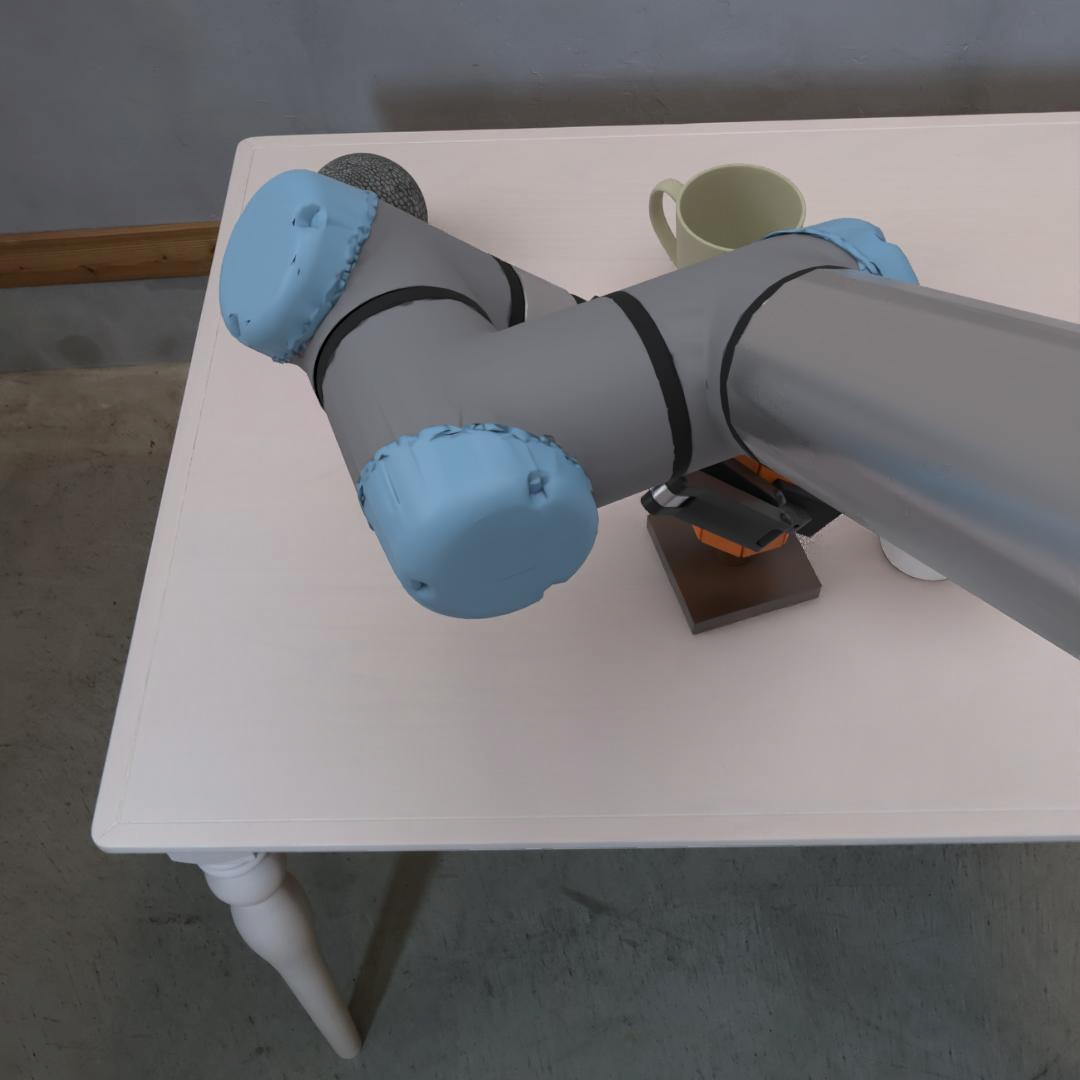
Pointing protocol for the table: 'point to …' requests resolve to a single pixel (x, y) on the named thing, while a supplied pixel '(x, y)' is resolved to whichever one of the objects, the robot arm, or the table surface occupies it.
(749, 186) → the mug
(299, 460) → the table surface
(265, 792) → the table surface
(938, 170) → the table surface
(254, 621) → the table surface
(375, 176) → the decorative ball
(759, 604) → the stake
